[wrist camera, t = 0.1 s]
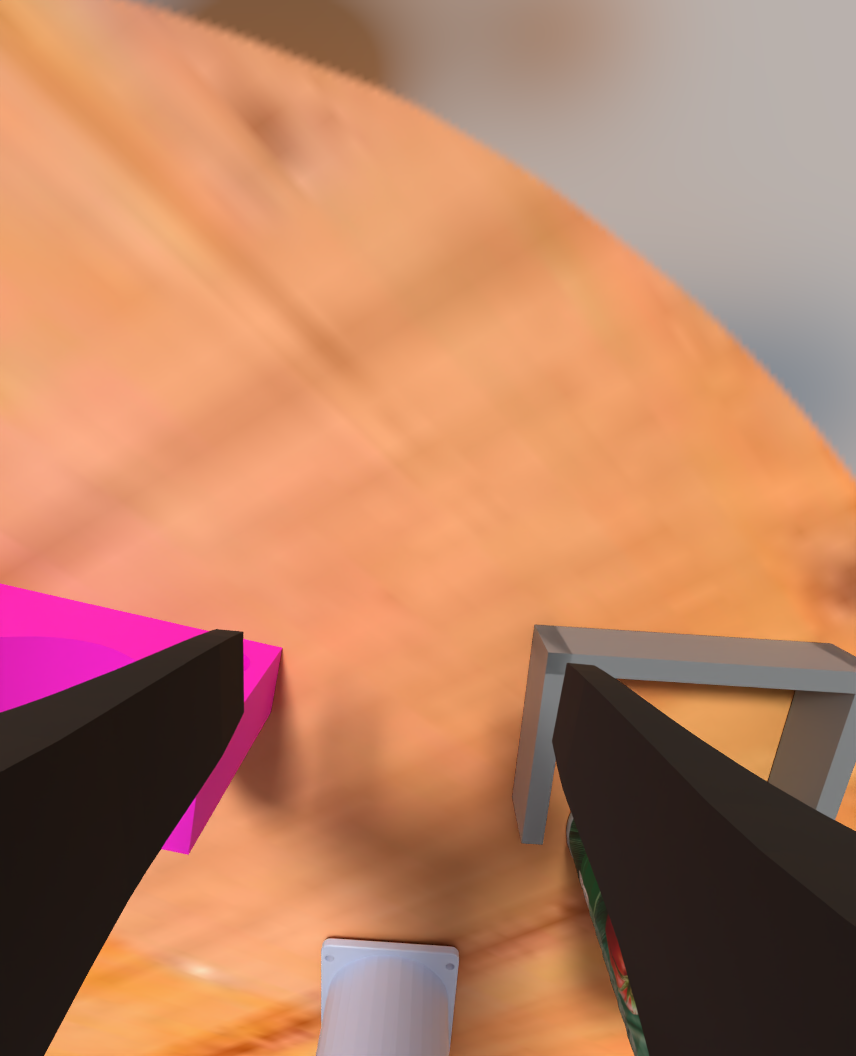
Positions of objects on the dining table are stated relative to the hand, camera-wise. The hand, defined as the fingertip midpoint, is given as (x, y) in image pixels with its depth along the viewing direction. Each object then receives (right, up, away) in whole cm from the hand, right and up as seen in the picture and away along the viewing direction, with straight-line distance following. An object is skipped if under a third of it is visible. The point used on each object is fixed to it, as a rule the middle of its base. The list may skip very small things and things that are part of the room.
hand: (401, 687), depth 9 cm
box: (+12, -7, +12) cm, 18 cm away
